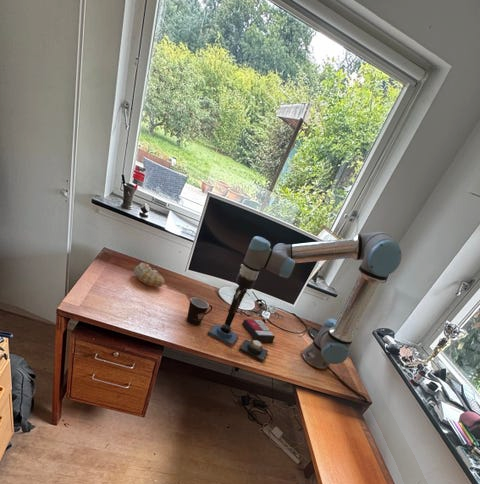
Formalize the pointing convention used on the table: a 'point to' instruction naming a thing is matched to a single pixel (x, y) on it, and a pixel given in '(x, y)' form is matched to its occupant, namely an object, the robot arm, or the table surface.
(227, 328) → the dark key
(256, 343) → the cream key
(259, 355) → the black key block
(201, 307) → the coffee mug
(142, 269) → the nautilus
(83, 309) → the table surface
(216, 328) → the blue key block
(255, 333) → the calculator
